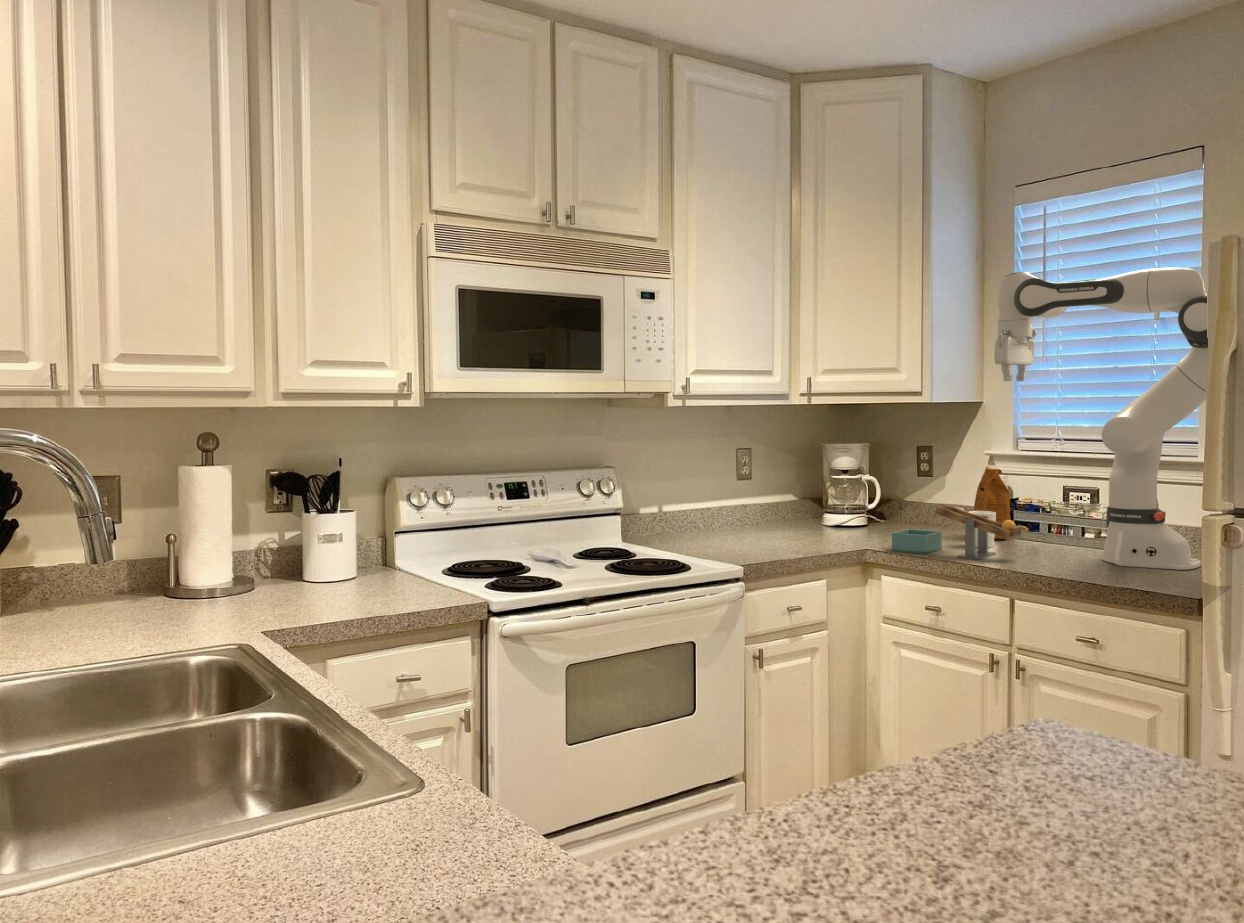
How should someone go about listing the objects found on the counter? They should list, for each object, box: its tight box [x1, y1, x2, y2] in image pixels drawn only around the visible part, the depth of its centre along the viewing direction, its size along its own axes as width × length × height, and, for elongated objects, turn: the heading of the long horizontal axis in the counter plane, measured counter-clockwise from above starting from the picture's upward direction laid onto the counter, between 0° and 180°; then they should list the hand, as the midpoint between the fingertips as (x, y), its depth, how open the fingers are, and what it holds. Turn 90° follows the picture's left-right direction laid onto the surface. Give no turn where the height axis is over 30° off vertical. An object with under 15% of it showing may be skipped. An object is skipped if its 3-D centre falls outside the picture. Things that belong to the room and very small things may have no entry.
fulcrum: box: [957, 516, 996, 561], centre depth 261 cm, size 6×11×11 cm, turn 137°
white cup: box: [968, 510, 996, 549], centre depth 278 cm, size 8×8×10 cm
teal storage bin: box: [891, 528, 943, 555], centre depth 273 cm, size 10×10×5 cm
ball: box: [1002, 519, 1017, 531], centre depth 255 cm, size 4×4×4 cm
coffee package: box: [973, 466, 1012, 541], centre depth 293 cm, size 10×12×22 cm
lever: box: [934, 504, 1023, 541], centre depth 263 cm, size 22×13×3 cm, turn 47°
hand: (1014, 381), depth 266 cm, fingers open, 8 cm apart
